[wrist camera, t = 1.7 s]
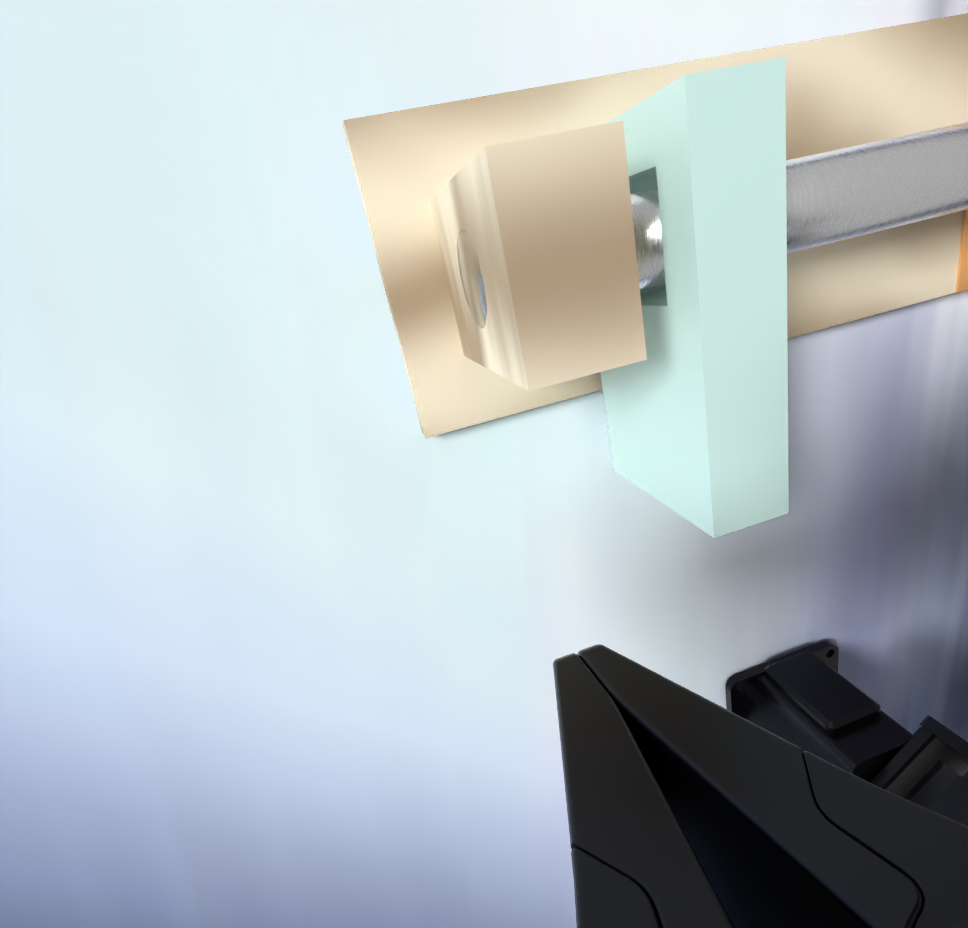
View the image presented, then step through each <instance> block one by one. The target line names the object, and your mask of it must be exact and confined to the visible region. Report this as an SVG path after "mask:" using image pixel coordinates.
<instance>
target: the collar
mask: <svg viewBox="0 0 968 928" xmlns="http://www.w3.org/2000/svg"><path fill="white" fill-rule="evenodd" d="M618 121H623V126H624V136H625V146H626V156H627V166H628V176H629V186H630V193H635V192H639V191H644V190H649V189H653V188H658V197H659V209H660V221H661V233H662V245H663V257H664V269H665V281H666V283H665V284H661V285H657V286H653V287H649V288H645V289H641V290H640V296H641V306H642V316H643V326H644V336H645V346H646V356H647V360H643V361H640V362H636V363H632V364H628V365H625V366H621V367H617V368H614V369H610V370H606V371H602V372H600V373H601V381H602V389H603V396H604V404H605V411H606V419H607V427H608V434H609V442H610V449H611V457H612V465H613V471H614V472H615V473H617V474H618V475H620V476H621V477H623V478H624V479H626V480H627V481H629V482H630V483H632V484H633V485H635V486H636V487H638V488H639V489H641V490H642V491H644V492H645V493H647V494H648V495H650V496H651V497H653V498H654V499H656V500H657V501H659V502H660V503H662V504H663V505H665V506H666V507H668V508H669V509H671V510H672V511H674V512H675V513H677V514H678V515H680V516H681V517H683V518H684V519H686V520H687V521H689V522H690V523H692V524H693V525H695V526H696V527H698V528H699V529H701V530H702V531H704V532H705V533H707V534H708V535H710V536H711V537H713V538H717V537H720V536H723V535H726V534H729V533H732V532H735V531H738V530H741V529H744V528H747V527H750V526H753V525H756V524H759V523H762V522H765V521H768V520H771V519H773V518H776V517H779V516H782V515H785V514H788V513H789V475H788V345H787V216H786V86H785V57H783V58H777V59H771V60H765V61H760V62H754V63H748V64H743V65H737V66H731V67H726V68H720V69H714V70H708V71H703V72H697V73H691V74H686V75H683V76H682V77H680V78H678V79H677V80H675V81H674V82H672V83H670V84H669V85H667V86H666V87H664V88H662V89H661V90H659V91H657V92H656V93H654V94H653V95H651V96H649V97H648V98H646V99H644V100H643V101H641V102H640V103H638V104H636V105H635V106H633V107H631V108H630V109H628V110H627V111H625V112H623V113H622V114H620V115H618V116H617V117H615V118H614V119H612V120H610V121H609V122H607V123H605V124H608V123H613V122H618Z"/></svg>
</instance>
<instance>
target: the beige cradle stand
mask: <svg viewBox="0 0 968 928" xmlns="http://www.w3.org/2000/svg"><path fill="white" fill-rule="evenodd" d="M783 57H785V86H786V160H790V159H795V158H800V157H804V156H809V155H814V154H819V153H823V152H828V151H833V150H837V149H842V148H847V147H852V146H856V145H861V144H866V143H870V142H875V141H880V140H885V139H889V138H894V137H899V136H904V135H908V134H913V133H918V132H922V131H927V130H932V129H937V128H941V127H946V126H951V125H955V124H960V123H965V122H968V14H962V15H956V16H950V17H944V18H938V19H933V20H927V21H921V22H915V23H909V24H903V25H898V26H892V27H886V28H880V29H874V30H868V31H863V32H857V33H851V34H845V35H839V36H833V37H828V38H822V39H816V40H810V41H804V42H798V43H792V44H787V45H781V46H775V47H769V48H763V49H757V50H752V51H746V52H740V53H734V54H728V55H722V56H717V57H711V58H705V59H699V60H693V61H687V62H682V63H676V64H670V65H664V66H658V67H652V68H646V69H641V70H635V71H629V72H623V73H617V74H611V75H606V76H600V77H594V78H588V79H582V80H576V81H571V82H565V83H559V84H553V85H547V86H541V87H535V88H530V89H524V90H518V91H512V92H506V93H500V94H495V95H489V96H483V97H477V98H471V99H465V100H460V101H454V102H448V103H442V104H436V105H430V106H425V107H419V108H413V109H407V110H401V111H395V112H389V113H384V114H378V115H372V116H366V117H360V118H354V119H349V120H344V125H343V128H344V132H345V136H346V140H347V144H348V147H349V151H350V155H351V159H352V163H353V167H354V170H355V174H356V178H357V182H358V186H359V190H360V194H361V197H362V201H363V205H364V209H365V213H366V217H367V221H368V224H369V228H370V232H371V236H372V240H373V244H374V248H375V251H376V255H377V259H378V263H379V267H380V271H381V275H382V278H383V282H384V286H385V290H386V294H387V298H388V302H389V305H390V309H391V313H392V317H393V321H394V325H395V329H396V332H397V336H398V340H399V344H400V348H401V352H402V356H403V359H404V363H405V367H406V371H407V375H408V379H409V383H410V386H411V390H412V394H413V398H414V402H415V406H416V409H417V413H418V417H419V421H420V425H421V429H422V433H423V434H424V436H425V438H428V437H432V436H436V435H439V434H443V433H447V432H450V431H454V430H458V429H461V428H465V427H468V426H472V425H476V424H479V423H483V422H487V421H490V420H494V419H498V418H501V417H505V416H508V415H512V414H516V413H519V412H523V411H527V410H530V409H534V408H538V407H541V406H545V405H548V404H552V403H556V402H559V401H563V400H567V399H570V398H574V397H578V396H581V395H585V394H588V393H592V392H596V391H599V390H603V389H602V381H601V373H600V372H602V371H606V370H610V369H614V368H617V367H621V366H625V365H628V364H632V363H636V362H640V361H643V360H647V356H646V346H645V336H644V326H643V316H642V306H641V296H640V286H639V276H638V266H637V256H636V246H635V236H634V226H633V216H632V206H631V196H630V186H629V176H628V166H627V156H626V146H625V136H624V126H623V121H618V122H613V123H608V124H605V123H607V122H609V121H610V120H612V119H614V118H615V117H617V116H618V115H620V114H622V113H623V112H625V111H627V110H628V109H630V108H631V107H633V106H635V105H636V104H638V103H640V102H641V101H643V100H644V99H646V98H648V97H649V96H651V95H653V94H654V93H656V92H657V91H659V90H661V89H662V88H664V87H666V86H667V85H669V84H670V83H672V82H674V81H675V80H677V79H678V78H680V77H682V76H683V75H686V74H691V73H697V72H703V71H708V70H714V69H720V68H726V67H731V66H737V65H743V64H748V63H754V62H760V61H765V60H771V59H777V58H783ZM464 230H465V231H466V232H467V233H466V232H465V231H464ZM459 231H460V232H459ZM457 243H458V253H459V261H458V253H457ZM459 264H460V269H459ZM479 264H480V265H479ZM480 268H481V271H480ZM460 271H461V276H460ZM481 272H482V277H483V282H484V287H485V294H486V306H487V314H486V322H485V324H483V323H484V321H483V320H484V319H483V313H482V311H483V309H482V306H481V302H480V300H481V299H480V298H479V297H481V296H480V295H479V294H480V292H479V291H480V288H479V282H478V281H479V280H478V276H477V275H478V274H479V275H480V276H481ZM461 277H462V280H461ZM462 282H463V285H462ZM463 286H464V289H463ZM464 290H465V293H464ZM966 290H968V209H967V210H963V211H959V212H955V213H951V214H947V215H943V216H939V217H935V218H931V219H927V220H922V221H918V222H914V223H910V224H906V225H902V226H898V227H894V228H890V229H886V230H882V231H878V232H873V233H869V234H865V235H861V236H857V237H853V238H849V239H845V240H841V241H837V242H833V243H829V244H824V245H820V246H816V247H812V248H808V249H804V250H800V251H796V252H792V253H788V254H787V339H789V338H792V337H796V336H799V335H803V334H807V333H810V332H814V331H818V330H821V329H825V328H829V327H832V326H836V325H839V324H843V323H847V322H850V321H854V320H858V319H861V318H865V317H869V316H872V315H876V314H879V313H883V312H887V311H890V310H894V309H898V308H901V307H905V306H909V305H912V304H916V303H919V302H923V301H927V300H930V299H934V298H938V297H941V296H945V295H949V294H952V293H958V292H962V291H966ZM465 294H466V297H465ZM466 298H467V300H466ZM467 302H468V303H467ZM484 325H485V326H484ZM481 327H484V328H481Z"/></svg>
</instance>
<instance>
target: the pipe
mask: <svg viewBox="0 0 968 928" xmlns="http://www.w3.org/2000/svg"><path fill="white" fill-rule="evenodd" d="M630 196H631V206H632V216H633V226H634V236H635V246H636V256H637V266H638V276H639V286H640V290H641V289H645V288H649V287H653V286H657V285H661V284H665V283H666V281H665V269H664V257H663V245H662V233H661V221H660V209H659V197H658V188H653V189H649V190H644V191H639V192H635V193H630ZM967 209H968V122H965V123H960V124H955V125H951V126H946V127H941V128H937V129H932V130H927V131H922V132H918V133H913V134H908V135H904V136H899V137H894V138H889V139H885V140H880V141H875V142H870V143H866V144H861V145H856V146H852V147H847V148H842V149H837V150H833V151H828V152H823V153H819V154H814V155H809V156H804V157H800V158H795V159H790V160H786V216H787V254H788V253H792V252H796V251H800V250H804V249H808V248H812V247H816V246H820V245H824V244H829V243H833V242H837V241H841V240H845V239H849V238H853V237H857V236H861V235H865V234H869V233H873V232H878V231H882V230H886V229H890V228H894V227H898V226H902V225H906V224H910V223H914V222H918V221H922V220H927V219H931V218H935V217H939V216H943V215H947V214H951V213H955V212H959V211H963V210H967ZM464 231H465V230H464ZM459 232H460V231H459ZM465 232H466V231H465ZM466 233H467V232H466ZM457 253H458V243H457ZM458 261H459V253H458ZM479 265H480V264H479ZM459 269H460V264H459ZM480 271H481V268H480ZM460 276H461V271H460ZM477 276H478V280H479V281H478V282H479V288H480V291H479V292H480V294H479V295H480V296H481V297H479V298H480V299H481V300H480V302H481V306H482V309H483V311H482V313H483V319H484V320H483V321H484V323H483V324H485V322H486V314H487V306H486V294H485V287H484V282H483V277H482V272H481V276H480V275H479V274H478V275H477ZM461 280H462V277H461ZM462 285H463V282H462ZM463 289H464V286H463ZM464 293H465V290H464ZM465 297H466V294H465ZM466 300H467V298H466ZM467 303H468V302H467ZM484 326H485V325H484ZM481 328H484V327H481Z"/></svg>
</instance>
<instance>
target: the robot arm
mask: <svg viewBox="0 0 968 928" xmlns="http://www.w3.org/2000/svg"><path fill="white" fill-rule="evenodd" d="M553 668H554V678H555V688H556V699H557V709H558V719H559V729H560V740H561V750H562V760H563V770H564V781H565V791H566V801H567V811H568V822H569V832H570V842H571V849H572V852H571V856H572V866H573V876H574V889H575V905H576V921H577V928H968V742H966V741H965V740H963V739H962V738H961V737H959V736H958V735H956V734H955V733H953V732H952V731H950V730H949V729H948V728H946V727H945V726H943V725H942V724H940V723H939V722H937V721H936V720H935V719H933V718H932V717H930V716H929V715H928V716H927V717H926V718H925V719H924V720H923V721H922V722H921V723H920V725H921V727H920V728H919V729H918V730H917V731H916V732H915V733H914V734H913V735H912V734H911V733H910V732H909V731H907V730H906V729H905V728H903V727H902V726H901V725H900V724H898V723H897V722H896V721H894V720H893V719H892V718H891V717H889V716H888V715H887V714H885V713H884V712H883V711H882V710H880V705H879V704H878V703H877V702H875V701H874V700H873V699H871V698H870V697H869V696H867V695H866V694H865V693H864V692H862V691H861V690H860V689H858V688H857V687H856V686H854V685H853V684H852V683H851V682H849V681H848V680H847V679H845V678H844V677H843V676H842V675H840V674H839V673H838V647H837V646H836V645H834V644H833V643H832V642H830V641H824V642H821V643H818V644H816V645H813V646H811V647H808V648H806V649H803V650H800V651H798V652H795V653H793V654H790V655H787V656H785V657H782V658H780V659H777V660H774V661H772V662H769V663H767V664H764V665H762V666H759V667H756V668H754V669H751V670H749V671H746V672H743V673H741V674H738V675H736V676H733V677H731V678H730V679H729V680H728V681H727V683H726V703H727V709H725V708H723V707H721V706H719V705H717V704H715V703H713V702H711V701H709V700H707V699H705V698H704V697H702V696H700V695H698V694H696V693H694V692H692V691H690V690H688V689H686V688H684V687H682V686H680V685H678V684H677V683H675V682H673V681H671V680H669V679H667V678H665V677H663V676H661V675H659V674H657V673H655V672H653V671H652V670H650V669H648V668H646V667H644V666H642V665H640V664H638V663H636V662H634V661H632V660H630V659H628V658H626V657H625V656H623V655H621V654H619V653H617V652H615V651H613V650H611V649H609V648H607V647H605V646H603V645H594V646H592V647H589V648H586V649H583V650H581V651H579V652H578V654H574V653H572V654H569V655H566V656H564V657H561V658H558V659H556V660H554V662H553Z"/></svg>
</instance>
